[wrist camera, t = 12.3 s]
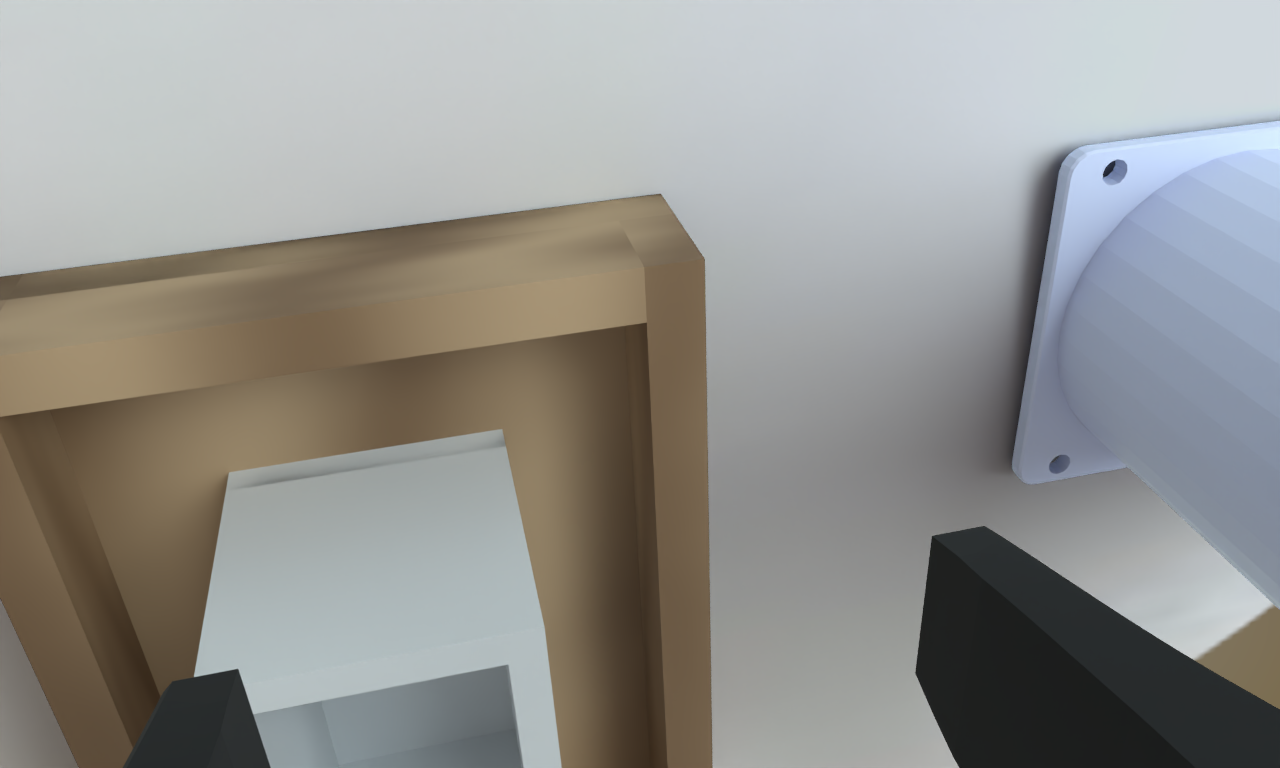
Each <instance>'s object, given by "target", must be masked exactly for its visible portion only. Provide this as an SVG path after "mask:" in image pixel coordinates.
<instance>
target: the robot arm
mask: <svg viewBox="0 0 1280 768" xmlns="http://www.w3.org/2000/svg"><path fill="white" fill-rule="evenodd" d="M1112 161H1115V167H1114V169H1113V171H1112V172H1111V173H1110V174H1109V175H1108V176H1107V177H1104V178H1103V172H1104V170H1105V167H1106V166H1107V165H1108V164H1109V163H1110V162H1112ZM1059 455H1060V456H1059ZM1057 456H1059V458H1058V459H1057V460H1056V461H1055V462H1053V463H1051V461H1052V460H1053V459H1054V458H1055V457H1057ZM1122 468H1129V469H1130V470H1131V471H1133V472H1134V473H1135V474H1136V475H1137V476H1138V477H1139V478H1140V479H1141V480H1142V481H1143V482H1144V483H1145V484H1146V485H1147V486H1149V487H1150V488H1151V489H1152V490H1153V491H1154V492H1155V493H1156V494H1157V495H1158V496H1159V497H1160V498H1161V499H1162V500H1163V501H1164V502H1166V503H1167V504H1168V505H1169V506H1170V507H1171V508H1172V509H1173V510H1174V511H1175V512H1176V513H1177V514H1178V515H1179V516H1180V517H1182V518H1183V519H1184V520H1185V521H1186V522H1187V523H1188V524H1189V525H1190V526H1191V527H1192V528H1193V529H1194V530H1195V531H1196V532H1197V533H1199V534H1200V535H1201V536H1202V537H1203V538H1204V539H1205V540H1206V541H1207V542H1208V543H1209V544H1210V545H1211V546H1212V547H1213V548H1215V549H1216V550H1217V551H1218V552H1219V553H1220V554H1221V555H1222V556H1223V557H1224V558H1225V559H1226V560H1227V561H1228V562H1229V563H1230V564H1232V565H1233V566H1234V567H1235V568H1236V569H1237V570H1238V571H1239V572H1240V573H1241V574H1242V575H1243V576H1244V577H1245V578H1246V579H1248V580H1249V581H1250V582H1251V583H1252V584H1253V585H1254V586H1255V587H1256V588H1257V589H1258V590H1259V591H1260V592H1261V593H1262V594H1263V595H1265V596H1266V597H1267V598H1268V599H1269V600H1270V601H1271V602H1272V603H1273V604H1274V605H1275V606H1276V607H1277V608H1279V610H1280V121H1273V122H1265V123H1257V124H1249V125H1241V126H1234V127H1226V128H1218V129H1210V130H1202V131H1194V132H1186V133H1178V134H1170V135H1163V136H1155V137H1147V138H1139V139H1131V140H1123V141H1115V142H1107V143H1099V144H1091V145H1085V146H1082V147H1079V148H1077V149H1075V150H1074V151H1073V152H1071V153H1070V154H1069V155H1068V156H1067V157H1066V159H1065V160H1064V161H1063V163H1062V165H1061V168H1060V171H1059V175H1058V181H1057V188H1056V194H1055V200H1054V206H1053V212H1052V218H1051V225H1050V231H1049V237H1048V243H1047V249H1046V255H1045V262H1044V268H1043V274H1042V280H1041V286H1040V292H1039V299H1038V305H1037V311H1036V317H1035V323H1034V329H1033V336H1032V342H1031V348H1030V354H1029V360H1028V366H1027V373H1026V379H1025V385H1024V391H1023V397H1022V404H1021V410H1020V416H1019V422H1018V428H1017V434H1016V441H1015V447H1014V453H1013V459H1012V470H1013V471H1014V473H1015V474H1016V475H1017V476H1018V478H1019V479H1020V480H1021V481H1022V482H1024V483H1026V484H1040V483H1045V482H1051V481H1056V480H1062V479H1067V478H1073V477H1078V476H1084V475H1089V474H1095V473H1100V472H1106V471H1111V470H1117V469H1122ZM916 676H917V678H918V680H919V682H920V685H921V687H922V689H923V692H924V694H925V696H926V698H927V701H928V703H929V705H930V708H931V710H932V712H933V714H934V717H935V719H936V721H937V723H938V725H939V728H940V730H941V732H942V734H943V736H944V738H945V740H946V742H947V744H948V747H949V749H950V751H951V753H952V755H953V757H954V759H955V761H956V762H957V764H958V766H959V768H1280V709H1278V708H1276V707H1274V706H1272V705H1271V704H1269V703H1267V702H1265V701H1264V700H1262V699H1260V698H1258V697H1257V696H1255V695H1253V694H1251V693H1250V692H1248V691H1246V690H1244V689H1242V688H1241V687H1239V686H1237V685H1235V684H1234V683H1232V682H1230V681H1228V680H1227V679H1225V678H1223V677H1221V676H1220V675H1218V674H1216V673H1214V672H1213V671H1211V670H1209V669H1208V668H1206V667H1204V666H1203V665H1201V664H1199V663H1197V662H1196V661H1194V660H1193V659H1191V658H1189V657H1188V656H1186V655H1184V654H1183V653H1181V652H1179V651H1178V650H1176V649H1174V648H1173V647H1171V646H1170V645H1168V644H1166V643H1165V642H1163V641H1162V640H1160V639H1158V638H1157V637H1155V636H1154V635H1152V634H1150V633H1149V632H1147V631H1146V630H1144V629H1142V628H1141V627H1139V626H1138V625H1136V624H1135V623H1133V622H1131V621H1130V620H1128V619H1127V618H1125V617H1124V616H1122V615H1120V614H1119V613H1117V612H1116V611H1114V610H1113V609H1111V608H1110V607H1108V606H1107V605H1105V604H1103V603H1102V602H1100V601H1099V600H1097V599H1096V598H1094V597H1093V596H1091V595H1090V594H1088V593H1087V592H1085V591H1084V590H1082V589H1081V588H1079V587H1078V586H1076V585H1075V584H1073V583H1072V582H1070V581H1068V580H1067V579H1065V578H1064V577H1062V576H1061V575H1059V574H1058V573H1056V572H1055V571H1053V570H1052V569H1050V568H1049V567H1047V566H1046V565H1044V564H1043V563H1041V562H1040V561H1038V560H1037V559H1035V558H1034V557H1032V556H1031V555H1029V554H1028V553H1026V552H1025V551H1023V550H1022V549H1020V548H1018V547H1017V546H1015V545H1014V544H1012V543H1011V542H1009V541H1008V540H1006V539H1005V538H1003V537H1001V536H1000V535H998V534H997V533H995V532H993V531H992V530H990V529H988V528H987V527H985V526H982V527H977V528H971V529H966V530H961V531H956V532H951V533H945V534H940V535H935V536H932V541H931V549H930V557H929V565H928V574H927V582H926V590H925V598H924V607H923V615H922V623H921V631H920V640H919V648H918V656H917V664H916ZM123 768H271V767H270V764H269V761H268V758H267V755H266V752H265V749H264V746H263V743H262V740H261V736H260V733H259V730H258V727H257V724H256V721H255V718H254V715H253V712H252V709H251V706H250V703H249V700H248V697H247V694H246V691H245V688H244V685H243V682H242V679H241V676H240V672H239V669H234V670H229V671H224V672H218V673H213V674H208V675H203V676H197V677H192V678H187V679H182V680H177V681H172V682H171V684H170V685H169V686H168V687H167V688H166V690H165V691H164V692H163V694H162V695H161V697H160V699H159V701H158V703H157V705H156V707H155V709H154V711H153V713H152V714H151V716H150V718H149V720H148V722H147V724H146V726H145V727H144V729H143V731H142V733H141V735H140V737H139V739H138V741H137V742H136V744H135V746H134V748H133V750H132V752H131V753H130V755H129V757H128V759H127V761H126V762H125V764H124V766H123Z"/></svg>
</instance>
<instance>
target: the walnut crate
mask: <svg viewBox="0 0 1280 768" xmlns="http://www.w3.org/2000/svg"><path fill="white" fill-rule="evenodd" d="M499 429H502V431H503V435H504V440H505V445H506V449H507V454H508V459H509V463H510V468H511V473H512V478H513V482H514V487H515V492H516V496H517V501H518V506H519V510H520V515H521V520H522V524H523V529H524V534H525V538H526V543H527V548H528V552H529V557H530V562H531V566H532V571H533V576H534V580H535V585H536V590H537V594H538V599H539V604H540V608H541V613H542V618H543V622H544V627H545V635H546V643H547V652H548V660H549V668H550V676H551V684H552V693H553V701H554V709H555V717H556V725H557V733H558V742H559V750H560V758H561V766H562V768H712V712H711V646H710V580H709V513H708V447H707V381H706V314H705V259H704V257H703V256H702V254H701V253H700V251H699V250H698V248H697V247H696V245H695V244H694V242H693V241H692V239H691V238H690V236H689V235H688V234H687V232H686V231H685V229H684V228H683V226H682V225H681V223H680V222H679V220H678V219H677V217H676V216H675V214H674V213H673V211H672V210H671V208H670V207H669V205H668V204H667V202H666V201H665V199H664V198H663V197H662V195H661V194H656V195H648V196H640V197H632V198H624V199H616V200H608V201H600V202H592V203H584V204H576V205H568V206H560V207H552V208H544V209H537V210H529V211H521V212H513V213H505V214H497V215H489V216H481V217H473V218H465V219H457V220H449V221H441V222H433V223H425V224H417V225H409V226H401V227H393V228H386V229H378V230H370V231H362V232H354V233H346V234H338V235H330V236H322V237H314V238H306V239H298V240H290V241H282V242H274V243H266V244H258V245H250V246H243V247H235V248H227V249H219V250H211V251H203V252H195V253H187V254H179V255H171V256H163V257H155V258H147V259H139V260H131V261H123V262H115V263H107V264H100V265H92V266H84V267H76V268H68V269H60V270H52V271H44V272H36V273H28V274H20V275H12V276H4V277H0V598H1V601H2V603H3V605H4V607H5V609H6V611H7V614H8V616H9V618H10V620H11V622H12V624H13V627H14V629H15V631H16V633H17V635H18V637H19V639H20V642H21V644H22V646H23V648H24V650H25V652H26V655H27V657H28V659H29V661H30V663H31V665H32V668H33V670H34V672H35V674H36V676H37V678H38V680H39V683H40V685H41V687H42V689H43V691H44V693H45V696H46V698H47V700H48V702H49V704H50V706H51V709H52V711H53V713H54V715H55V717H56V719H57V721H58V724H59V726H60V728H61V730H62V732H63V734H64V737H65V739H66V741H67V743H68V745H69V747H70V749H71V752H72V754H73V756H74V758H75V760H76V762H77V765H78V767H79V768H123V766H124V764H125V762H126V761H127V759H128V757H129V755H130V753H131V752H132V750H133V748H134V746H135V744H136V742H137V741H138V739H139V737H140V735H141V733H142V731H143V729H144V727H145V726H146V724H147V722H148V720H149V718H150V716H151V714H152V713H153V711H154V709H155V707H156V705H157V703H158V701H159V699H160V697H161V695H162V694H163V692H164V691H165V690H166V688H167V687H168V686H169V685H170V684H171V682H172V681H177V680H182V679H187V678H192V677H194V673H195V667H196V661H197V656H198V650H199V644H200V638H201V632H202V627H203V621H204V615H205V609H206V603H207V598H208V592H209V586H210V580H211V574H212V569H213V563H214V557H215V551H216V545H217V539H218V534H219V528H220V522H221V516H222V510H223V505H224V499H225V493H226V487H227V481H228V476H229V472H235V471H241V470H247V469H253V468H260V467H266V466H272V465H279V464H285V463H291V462H297V461H304V460H310V459H316V458H323V457H329V456H335V455H341V454H348V453H354V452H360V451H367V450H373V449H379V448H385V447H392V446H398V445H404V444H411V443H417V442H423V441H429V440H436V439H442V438H448V437H455V436H461V435H467V434H473V433H480V432H486V431H492V430H499Z"/></svg>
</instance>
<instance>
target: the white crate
mask: <svg viewBox="0 0 1280 768" xmlns="http://www.w3.org/2000/svg"><path fill="white" fill-rule="evenodd" d="M234 669H239V672H240V676H241V679H242V682H243V685H244V688H245V691H246V694H247V697H248V700H249V703H250V706H251V709H252V712H253V715H254V718H255V721H256V724H257V727H258V730H259V733H260V736H261V740H262V743H263V746H264V749H265V752H266V755H267V758H268V761H269V764H270V767H271V768H562V766H561V758H560V750H559V742H558V733H557V725H556V717H555V709H554V701H553V693H552V684H551V676H550V668H549V660H548V652H547V643H546V635H545V627H544V622H543V618H542V613H541V608H540V604H539V599H538V594H537V590H536V585H535V580H534V576H533V571H532V566H531V562H530V557H529V552H528V548H527V543H526V538H525V534H524V529H523V524H522V520H521V515H520V510H519V506H518V501H517V496H516V492H515V487H514V482H513V478H512V473H511V468H510V463H509V459H508V454H507V449H506V445H505V440H504V435H503V431H502V429H499V430H492V431H486V432H480V433H473V434H467V435H461V436H455V437H448V438H442V439H436V440H429V441H423V442H417V443H411V444H404V445H398V446H392V447H385V448H379V449H373V450H367V451H360V452H354V453H348V454H341V455H335V456H329V457H323V458H316V459H310V460H304V461H297V462H291V463H285V464H279V465H272V466H266V467H260V468H253V469H247V470H241V471H235V472H229V476H228V481H227V487H226V493H225V499H224V505H223V510H222V516H221V522H220V528H219V534H218V539H217V545H216V551H215V557H214V563H213V569H212V574H211V580H210V586H209V592H208V598H207V603H206V609H205V615H204V621H203V627H202V632H201V638H200V644H199V650H198V656H197V661H196V667H195V673H194V677H197V676H203V675H208V674H213V673H218V672H224V671H229V670H234Z"/></svg>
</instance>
